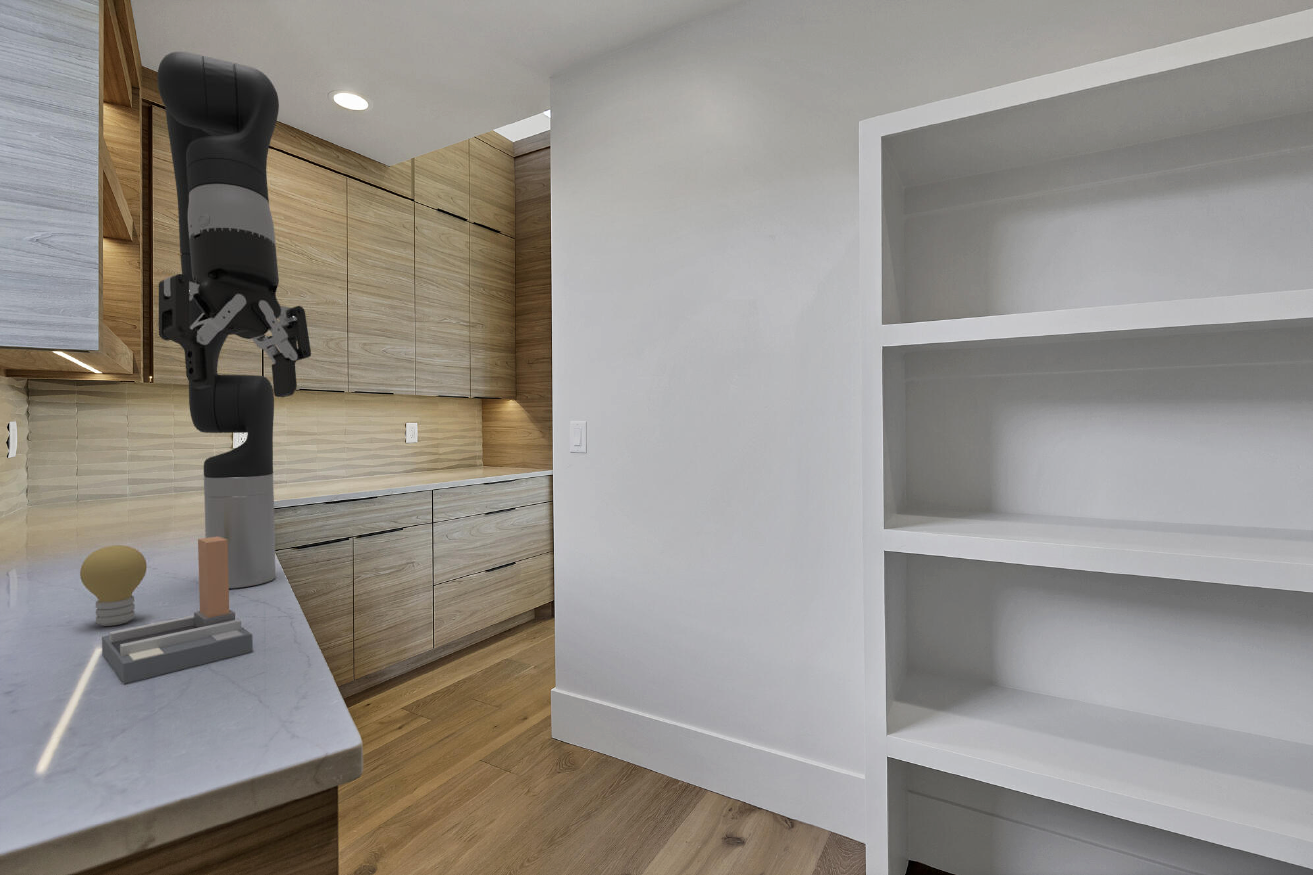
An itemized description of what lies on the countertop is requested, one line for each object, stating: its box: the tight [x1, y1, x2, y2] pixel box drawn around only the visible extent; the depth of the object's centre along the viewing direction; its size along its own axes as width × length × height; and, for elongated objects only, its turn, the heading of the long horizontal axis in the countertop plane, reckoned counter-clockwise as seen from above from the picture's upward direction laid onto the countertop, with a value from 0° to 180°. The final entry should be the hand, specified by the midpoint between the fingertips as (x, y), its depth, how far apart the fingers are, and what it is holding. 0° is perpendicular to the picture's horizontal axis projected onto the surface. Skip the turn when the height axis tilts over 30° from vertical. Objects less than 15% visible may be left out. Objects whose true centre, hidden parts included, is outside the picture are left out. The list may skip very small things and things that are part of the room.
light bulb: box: [79, 545, 148, 627], centre depth 79 cm, size 6×6×10 cm
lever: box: [193, 536, 236, 628], centre depth 71 cm, size 4×3×10 cm
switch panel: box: [101, 614, 253, 685], centre depth 68 cm, size 12×11×3 cm
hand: (246, 391), depth 63 cm, fingers open, 8 cm apart
